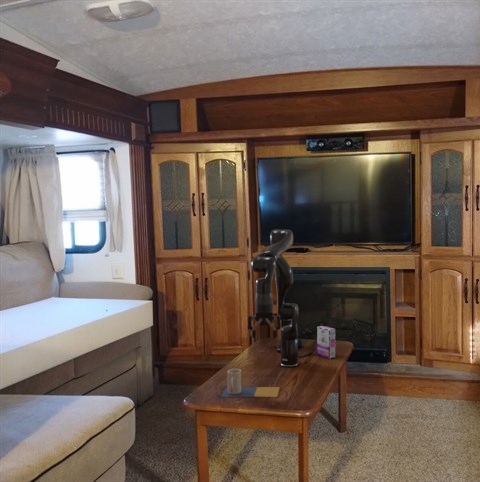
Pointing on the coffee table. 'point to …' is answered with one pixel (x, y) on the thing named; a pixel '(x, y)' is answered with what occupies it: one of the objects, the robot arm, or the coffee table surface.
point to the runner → (254, 392)
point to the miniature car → (280, 344)
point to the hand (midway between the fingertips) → (264, 338)
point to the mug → (234, 381)
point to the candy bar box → (326, 341)
